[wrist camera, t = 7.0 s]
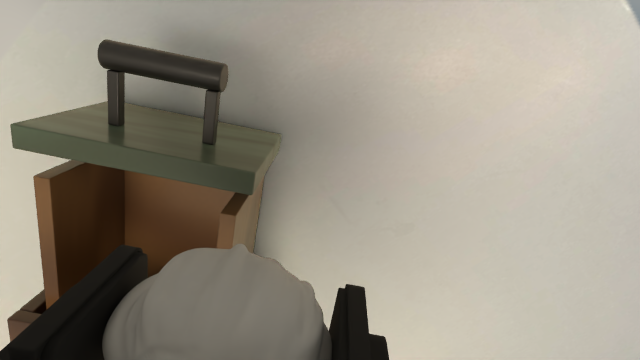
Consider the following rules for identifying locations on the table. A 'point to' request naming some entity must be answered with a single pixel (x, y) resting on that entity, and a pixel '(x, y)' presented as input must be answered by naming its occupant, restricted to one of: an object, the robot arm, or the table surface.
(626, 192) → the table surface
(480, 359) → the table surface
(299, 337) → the garlic
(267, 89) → the table surface
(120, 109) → the drawer
